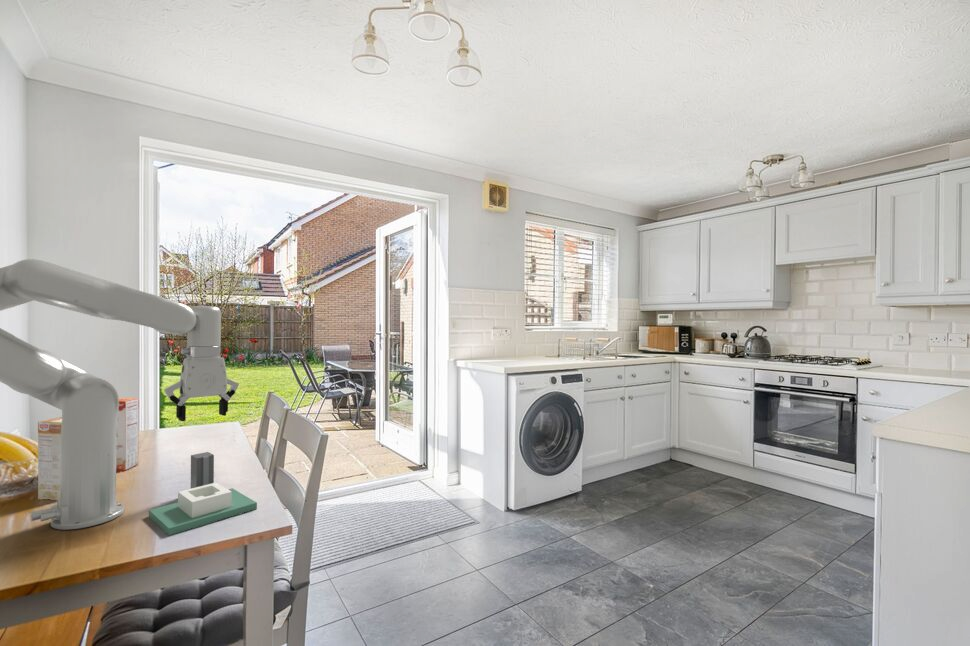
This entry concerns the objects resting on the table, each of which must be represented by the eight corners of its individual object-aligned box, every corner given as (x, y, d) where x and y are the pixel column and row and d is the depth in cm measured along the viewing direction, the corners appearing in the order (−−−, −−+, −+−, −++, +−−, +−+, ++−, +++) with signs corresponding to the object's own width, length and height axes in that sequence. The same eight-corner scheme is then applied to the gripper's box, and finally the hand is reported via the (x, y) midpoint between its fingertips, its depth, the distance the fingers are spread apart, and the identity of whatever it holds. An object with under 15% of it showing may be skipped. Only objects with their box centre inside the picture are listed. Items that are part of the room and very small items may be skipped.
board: (169, 535, 96) (169, 528, 96) (148, 516, 105) (148, 509, 105) (256, 508, 110) (256, 502, 110) (232, 493, 119) (232, 488, 119)
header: (192, 518, 101) (192, 502, 101) (177, 506, 107) (178, 491, 107) (231, 506, 108) (231, 491, 108) (216, 496, 113) (216, 482, 113)
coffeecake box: (93, 478, 129) (94, 409, 128) (116, 480, 128) (117, 410, 128) (35, 499, 114) (36, 420, 114) (61, 501, 113) (61, 422, 113)
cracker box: (75, 471, 134) (75, 400, 134) (92, 465, 140) (92, 396, 140) (124, 471, 135) (124, 400, 134) (139, 465, 141) (139, 396, 140)
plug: (197, 498, 116) (197, 458, 116) (190, 493, 119) (190, 455, 119) (214, 493, 119) (214, 455, 119) (207, 489, 122) (207, 451, 122)
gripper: (170, 355, 112) (169, 425, 112) (244, 352, 126) (243, 415, 126) (160, 353, 117) (159, 420, 117) (232, 350, 130) (231, 411, 130)
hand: (202, 417), depth 121 cm, fingers open, 9 cm apart
